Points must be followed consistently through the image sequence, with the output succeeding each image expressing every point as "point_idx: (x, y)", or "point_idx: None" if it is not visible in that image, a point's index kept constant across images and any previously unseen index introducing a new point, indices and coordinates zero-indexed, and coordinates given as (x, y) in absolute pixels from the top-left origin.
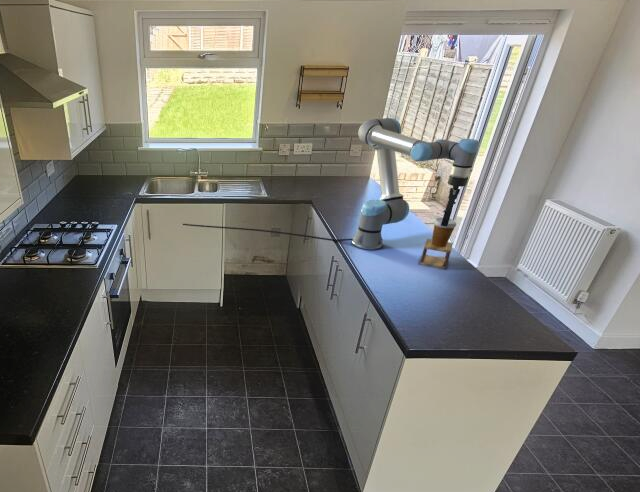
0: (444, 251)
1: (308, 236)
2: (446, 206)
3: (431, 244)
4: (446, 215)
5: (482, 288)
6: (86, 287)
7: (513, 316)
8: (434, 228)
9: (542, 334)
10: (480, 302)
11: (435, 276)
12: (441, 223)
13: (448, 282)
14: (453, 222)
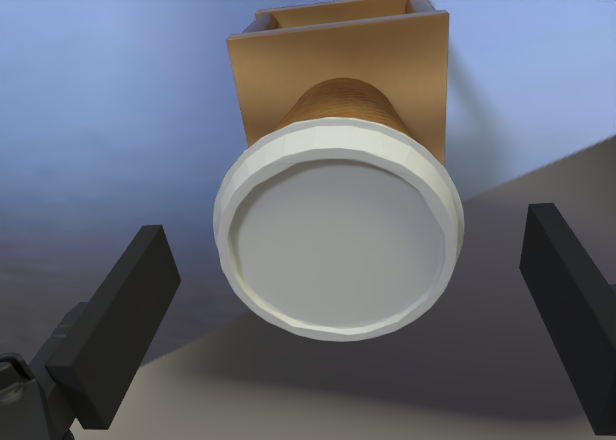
0: None
1: None
2: (598, 318)
3: (307, 82)
4: (47, 358)
5: (179, 305)
6: None
7: None
8: (286, 123)
9: None
10: (49, 306)
11: (149, 132)
12: (133, 243)
13: (128, 195)
14: (348, 316)
